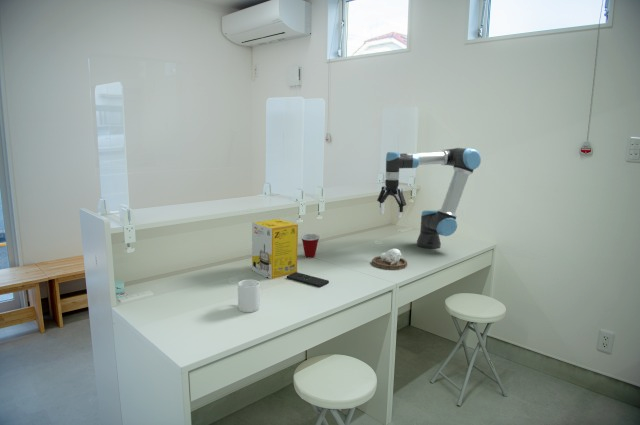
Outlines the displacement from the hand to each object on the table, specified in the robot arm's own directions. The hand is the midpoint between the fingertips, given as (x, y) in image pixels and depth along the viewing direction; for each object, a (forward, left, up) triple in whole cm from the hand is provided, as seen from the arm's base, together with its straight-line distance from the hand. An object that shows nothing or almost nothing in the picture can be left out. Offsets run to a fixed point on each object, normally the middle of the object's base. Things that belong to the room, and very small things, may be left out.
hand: (390, 215), depth 246 cm
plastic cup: (+42, -20, -24) cm, 53 cm away
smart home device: (+65, +12, -24) cm, 71 cm away
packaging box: (+72, -7, -24) cm, 76 cm away
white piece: (+12, +13, -23) cm, 29 cm away
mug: (+103, +26, -24) cm, 109 cm away
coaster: (+12, +14, -24) cm, 30 cm away
